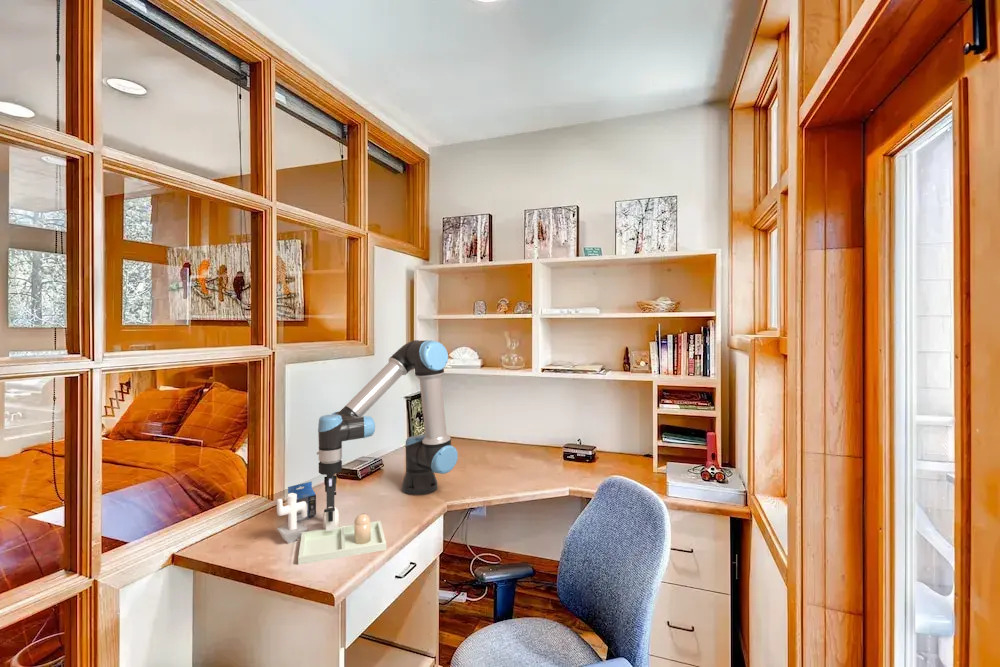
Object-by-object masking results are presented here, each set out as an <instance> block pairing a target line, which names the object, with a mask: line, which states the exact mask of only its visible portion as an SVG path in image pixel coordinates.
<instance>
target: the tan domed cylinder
mask: <svg viewBox="0 0 1000 667" xmlns="http://www.w3.org/2000/svg"><path fill="white" fill-rule="evenodd" d="M370 522H371V518H370V516H369V515H368V514H366V513H360V514H359V515H357V516H356V517H355V519H354V523H353V525H354V538H355V543H356V544H366V543H368V542H370V540H371V525H370Z"/></svg>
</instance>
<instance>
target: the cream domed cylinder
mask: <svg viewBox="0 0 1000 667" xmlns="http://www.w3.org/2000/svg"><path fill="white" fill-rule="evenodd" d="M328 508H331V507H328ZM334 508H335V527H340V512H339V508H338V507H336V506H334ZM325 509H327V507H326V508H325ZM322 516H323V518H322V519H323V520H322V522H323V529H326V512H324V511H323V515H322Z"/></svg>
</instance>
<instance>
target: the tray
mask: <svg viewBox="0 0 1000 667" xmlns="http://www.w3.org/2000/svg"><path fill="white" fill-rule="evenodd" d="M381 521H382V520H376V521H370V525H371V540H370V542H368V543H366V544H356V543H355V538H354V524H350V525H349V524H348V525H343V526H339V527H335V530H332V531H326V529H324V528H323V529H315V530H309V531H308V530H307V531H306V532H302V535H301V537H300V543H299V551H298V558H297V559H298V560H297V562H298V563H297V564H298V566H301V565H306V564H312V563H317V562H323V561H324V562H325V561H330V560H336V559H341V558H346V557H352V556H357V555H358V556H359V555H364V554H365V555H366V554H369V553H375V552H381V551H387V539H386V536H385V532H384V530H383V529H384V528H383V525H382V522H381Z"/></svg>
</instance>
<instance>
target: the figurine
mask: <svg viewBox="0 0 1000 667" xmlns="http://www.w3.org/2000/svg"><path fill="white" fill-rule="evenodd" d="M296 499H297V494H295V493H289V494H288V493H287V502H286V503H287V505H285V506H284V505H283V504H284V502H283V501H284V500H283V499H282V498H277V500H276V513H277V516H278V517H283V516H286V515H287V525H283V526H281V527H277V531H278V532H279V534H280V536H281V537H282V540H283V541H285V542H286V543H287V544H291V543H295V542H297V541H298V539H301V535H302V532H308V526H306V525H304V524H303V523H302V522H301V521H298V522H297V511H301V513H302V517H303V518H305V517H307V503H306V502H305V501H302V502H298V503H296Z"/></svg>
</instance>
